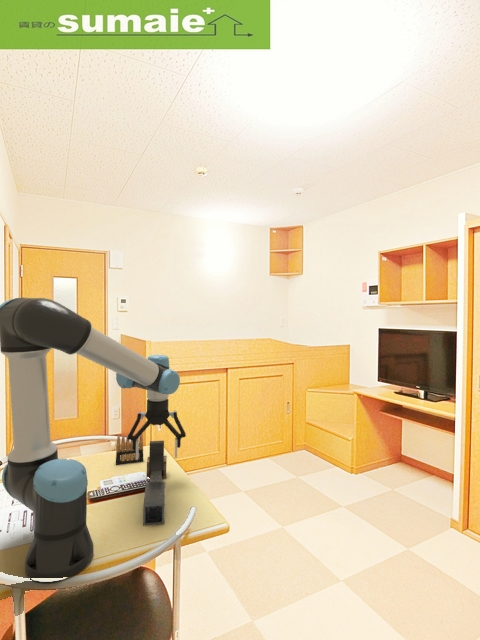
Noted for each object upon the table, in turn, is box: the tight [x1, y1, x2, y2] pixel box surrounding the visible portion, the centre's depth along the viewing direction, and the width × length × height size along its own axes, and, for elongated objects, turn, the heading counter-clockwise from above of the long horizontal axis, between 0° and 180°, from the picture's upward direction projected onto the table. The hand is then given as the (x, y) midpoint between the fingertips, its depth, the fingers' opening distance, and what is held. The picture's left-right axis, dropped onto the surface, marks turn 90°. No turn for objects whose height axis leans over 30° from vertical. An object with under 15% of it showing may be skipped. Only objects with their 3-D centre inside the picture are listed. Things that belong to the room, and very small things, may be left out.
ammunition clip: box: [115, 433, 144, 466], centre depth 149 cm, size 11×2×12 cm, turn 111°
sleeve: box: [142, 480, 166, 527], centre depth 114 cm, size 14×6×6 cm, turn 11°
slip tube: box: [148, 440, 165, 482], centre depth 128 cm, size 22×5×14 cm, turn 11°
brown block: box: [146, 455, 168, 480], centre depth 138 cm, size 5×7×6 cm
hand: (156, 457), depth 132 cm, fingers open, 13 cm apart
